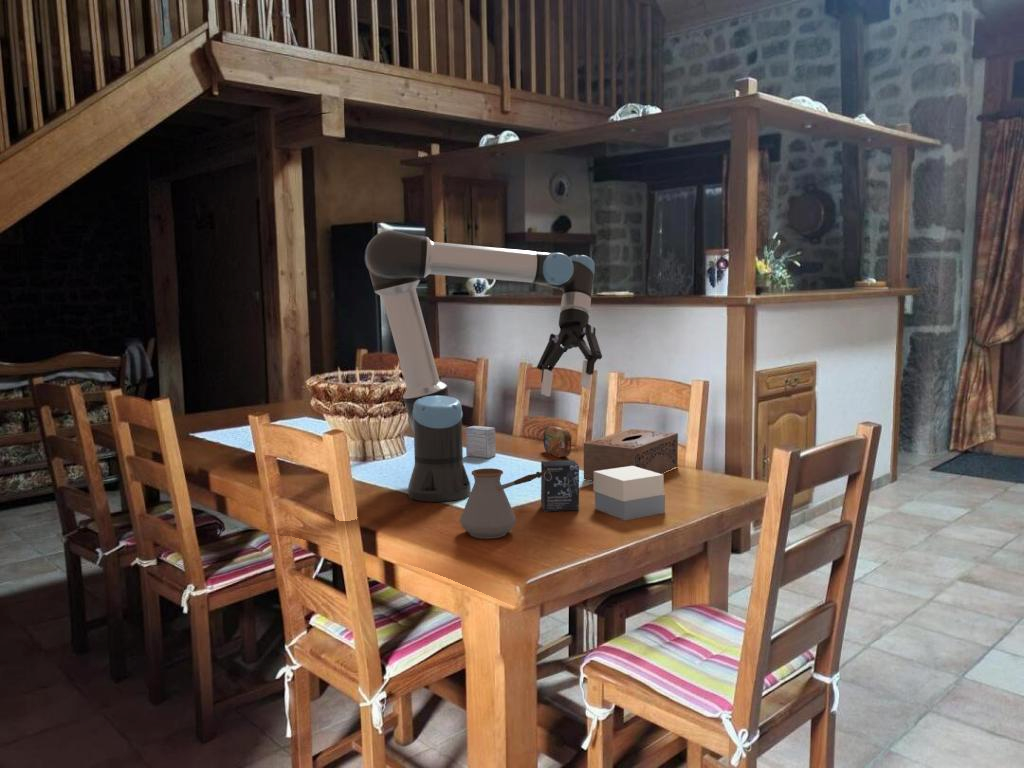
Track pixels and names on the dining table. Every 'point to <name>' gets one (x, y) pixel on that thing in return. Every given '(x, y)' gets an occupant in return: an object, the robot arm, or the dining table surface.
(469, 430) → the medicine box
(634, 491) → the tower top
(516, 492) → the dining table surface
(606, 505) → the block
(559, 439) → the tin
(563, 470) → the box
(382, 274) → the robot arm
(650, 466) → the tissue box cover
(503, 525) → the coffee pot
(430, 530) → the dining table surface
